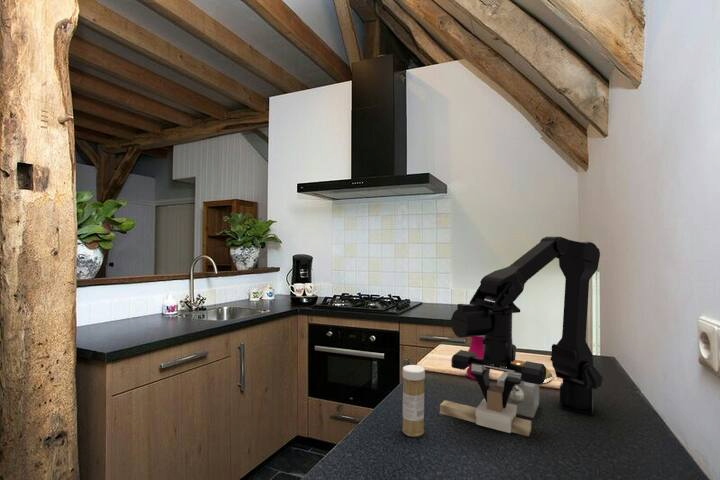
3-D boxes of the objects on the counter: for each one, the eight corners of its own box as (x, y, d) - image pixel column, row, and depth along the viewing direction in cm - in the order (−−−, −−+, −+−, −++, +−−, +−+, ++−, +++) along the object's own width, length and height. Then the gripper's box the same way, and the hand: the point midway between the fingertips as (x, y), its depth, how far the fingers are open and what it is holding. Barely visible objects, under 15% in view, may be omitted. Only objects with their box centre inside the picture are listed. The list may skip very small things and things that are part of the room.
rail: (531, 430, 83) (531, 421, 83) (528, 436, 81) (528, 426, 81) (444, 408, 93) (444, 400, 93) (439, 413, 91) (440, 404, 91)
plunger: (527, 386, 95) (528, 361, 95) (525, 391, 92) (525, 365, 92) (512, 383, 97) (512, 359, 97) (508, 388, 94) (509, 363, 94)
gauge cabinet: (538, 405, 96) (539, 376, 96) (533, 418, 89) (533, 387, 89) (504, 398, 100) (504, 370, 100) (496, 410, 93) (496, 380, 93)
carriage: (516, 421, 87) (516, 387, 87) (509, 434, 81) (510, 398, 81) (484, 413, 90) (484, 380, 90) (475, 425, 85) (475, 390, 84)
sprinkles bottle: (415, 425, 85) (416, 363, 85) (428, 435, 81) (429, 369, 81) (397, 429, 83) (398, 365, 83) (409, 439, 79) (410, 372, 79)
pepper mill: (494, 381, 112) (495, 310, 112) (468, 380, 112) (469, 310, 112) (486, 372, 119) (487, 306, 119) (462, 371, 119) (463, 305, 119)
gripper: (550, 332, 87) (548, 402, 87) (466, 321, 97) (465, 384, 97) (542, 343, 78) (541, 422, 78) (451, 330, 88) (449, 400, 88)
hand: (496, 405), depth 86 cm, fingers closed on carriage, 3 cm apart
